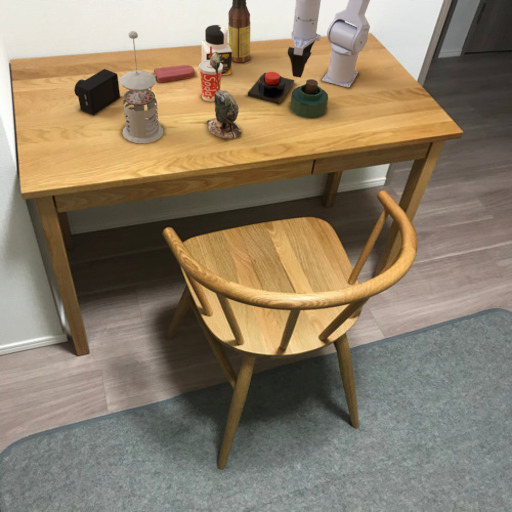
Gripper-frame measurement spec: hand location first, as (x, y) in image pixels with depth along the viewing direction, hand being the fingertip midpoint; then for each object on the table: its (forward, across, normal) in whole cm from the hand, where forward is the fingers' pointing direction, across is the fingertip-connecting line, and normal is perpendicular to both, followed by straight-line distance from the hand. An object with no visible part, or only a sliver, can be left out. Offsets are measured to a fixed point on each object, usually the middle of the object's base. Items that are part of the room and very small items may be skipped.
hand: (299, 69), depth 144 cm
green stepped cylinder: (+10, -2, -4) cm, 10 cm away
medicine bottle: (+10, +10, +25) cm, 28 cm away
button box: (+10, +4, +8) cm, 13 cm away
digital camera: (+10, -17, +48) cm, 52 cm away
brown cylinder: (+9, -2, -4) cm, 10 cm away
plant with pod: (+10, -19, +14) cm, 26 cm away
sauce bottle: (+10, +18, +21) cm, 29 cm away
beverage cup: (+10, -5, +22) cm, 25 cm away
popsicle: (+10, +1, +36) cm, 38 cm away
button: (+7, +4, +8) cm, 11 cm away
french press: (+10, -25, +33) cm, 42 cm away
